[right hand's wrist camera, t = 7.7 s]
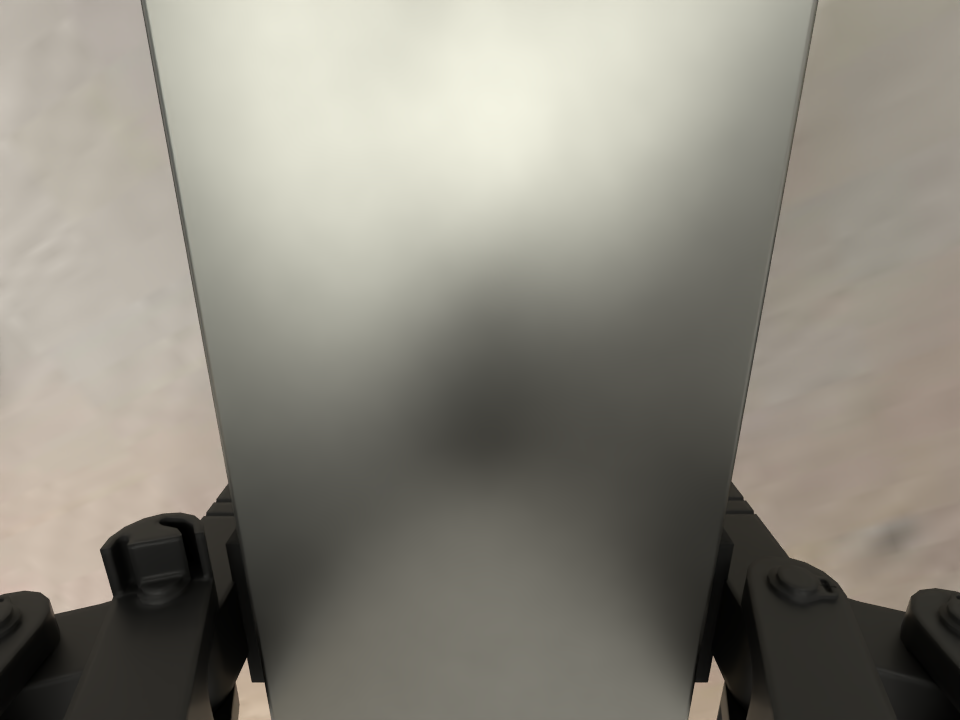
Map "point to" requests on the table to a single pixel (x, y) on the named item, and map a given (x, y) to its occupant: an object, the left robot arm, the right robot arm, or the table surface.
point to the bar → (479, 331)
